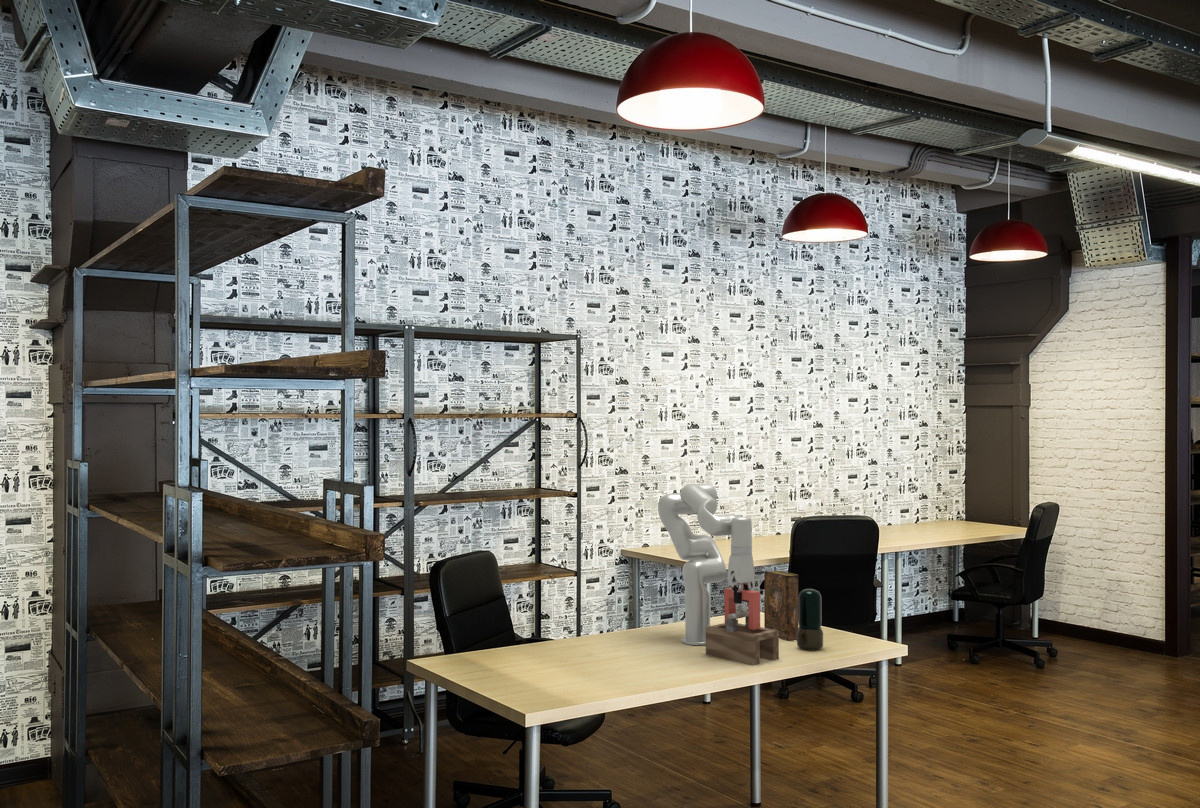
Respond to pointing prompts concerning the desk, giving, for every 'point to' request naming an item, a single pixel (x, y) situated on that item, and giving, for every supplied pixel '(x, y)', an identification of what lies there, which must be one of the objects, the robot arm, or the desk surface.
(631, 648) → the desk surface
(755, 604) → the red arch block
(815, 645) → the lamp
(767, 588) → the book
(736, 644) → the tan hollow frame
